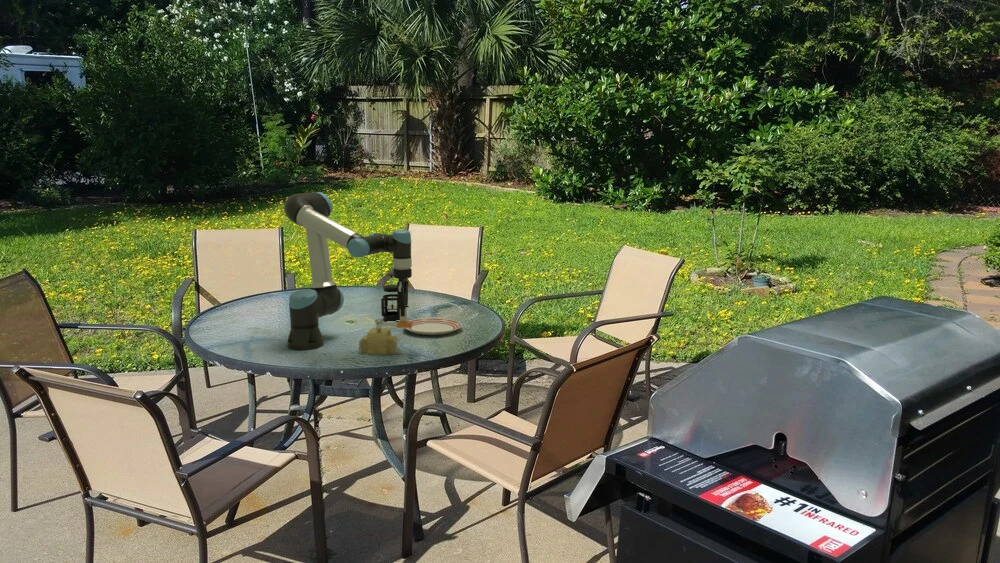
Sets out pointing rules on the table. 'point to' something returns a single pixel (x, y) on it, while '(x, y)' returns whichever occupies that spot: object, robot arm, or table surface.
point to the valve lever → (394, 324)
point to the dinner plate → (434, 326)
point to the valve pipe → (379, 342)
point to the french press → (384, 307)
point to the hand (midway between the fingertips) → (403, 323)
